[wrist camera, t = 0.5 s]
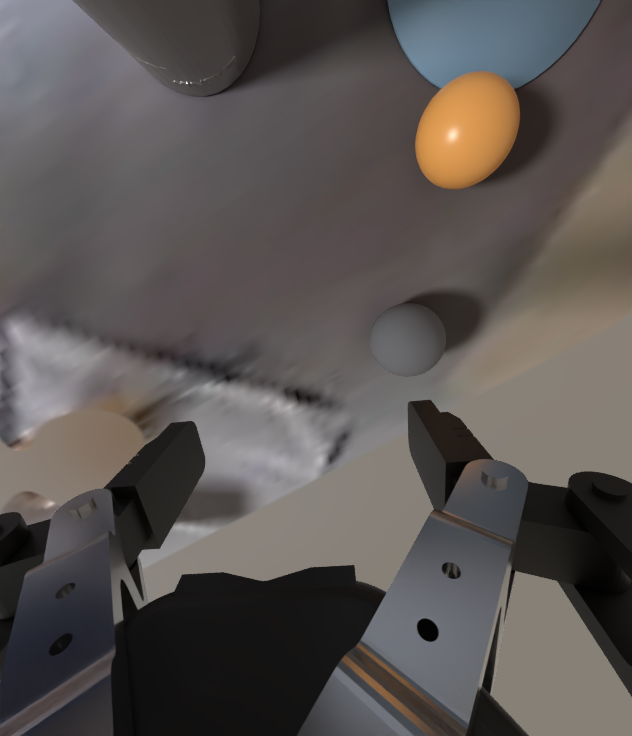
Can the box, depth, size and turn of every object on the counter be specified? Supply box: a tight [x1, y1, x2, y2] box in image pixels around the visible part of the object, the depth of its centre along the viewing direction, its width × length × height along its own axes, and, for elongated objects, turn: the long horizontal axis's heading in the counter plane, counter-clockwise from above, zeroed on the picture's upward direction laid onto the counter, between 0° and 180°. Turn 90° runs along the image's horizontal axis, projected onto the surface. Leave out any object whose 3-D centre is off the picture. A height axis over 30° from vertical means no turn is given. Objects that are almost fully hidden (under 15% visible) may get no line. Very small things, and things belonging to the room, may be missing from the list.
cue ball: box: [370, 303, 446, 377], centre depth 25 cm, size 6×6×6 cm
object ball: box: [415, 71, 520, 189], centre depth 20 cm, size 6×6×6 cm
